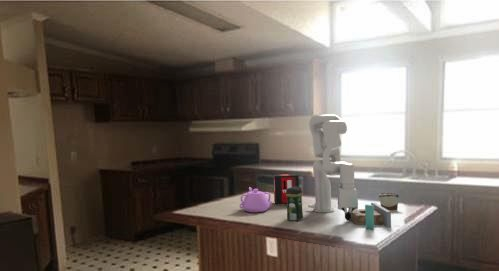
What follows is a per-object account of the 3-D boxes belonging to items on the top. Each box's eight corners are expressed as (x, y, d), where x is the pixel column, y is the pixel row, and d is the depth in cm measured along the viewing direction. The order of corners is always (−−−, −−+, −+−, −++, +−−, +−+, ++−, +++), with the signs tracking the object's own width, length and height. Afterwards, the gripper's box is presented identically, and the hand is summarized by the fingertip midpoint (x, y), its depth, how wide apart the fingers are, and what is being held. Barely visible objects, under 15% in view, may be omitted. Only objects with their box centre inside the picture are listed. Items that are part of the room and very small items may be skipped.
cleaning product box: (297, 201, 246) (296, 173, 246) (299, 204, 237) (298, 175, 237) (274, 202, 246) (273, 174, 246) (275, 205, 237) (274, 176, 237)
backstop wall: (387, 227, 174) (386, 211, 174) (371, 216, 198) (371, 202, 198) (391, 227, 174) (390, 211, 174) (375, 216, 198) (374, 202, 198)
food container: (396, 208, 217) (396, 192, 217) (399, 210, 211) (399, 194, 211) (376, 208, 218) (376, 192, 218) (379, 210, 212) (378, 194, 212)
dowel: (367, 230, 170) (366, 206, 170) (364, 228, 174) (364, 204, 174) (375, 230, 170) (374, 205, 170) (372, 228, 174) (371, 204, 174)
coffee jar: (291, 216, 202) (291, 185, 202) (304, 218, 198) (303, 185, 198) (284, 220, 194) (284, 187, 194) (297, 222, 190) (297, 188, 190)
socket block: (356, 225, 179) (356, 215, 179) (349, 218, 193) (349, 209, 193) (383, 224, 179) (383, 214, 179) (374, 217, 193) (374, 209, 193)
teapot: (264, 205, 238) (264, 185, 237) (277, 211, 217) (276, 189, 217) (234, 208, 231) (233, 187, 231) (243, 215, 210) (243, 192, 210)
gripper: (334, 187, 183) (335, 221, 183) (363, 187, 182) (363, 221, 182) (332, 185, 191) (332, 218, 191) (359, 184, 190) (360, 218, 190)
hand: (347, 219), depth 187 cm, fingers closed
